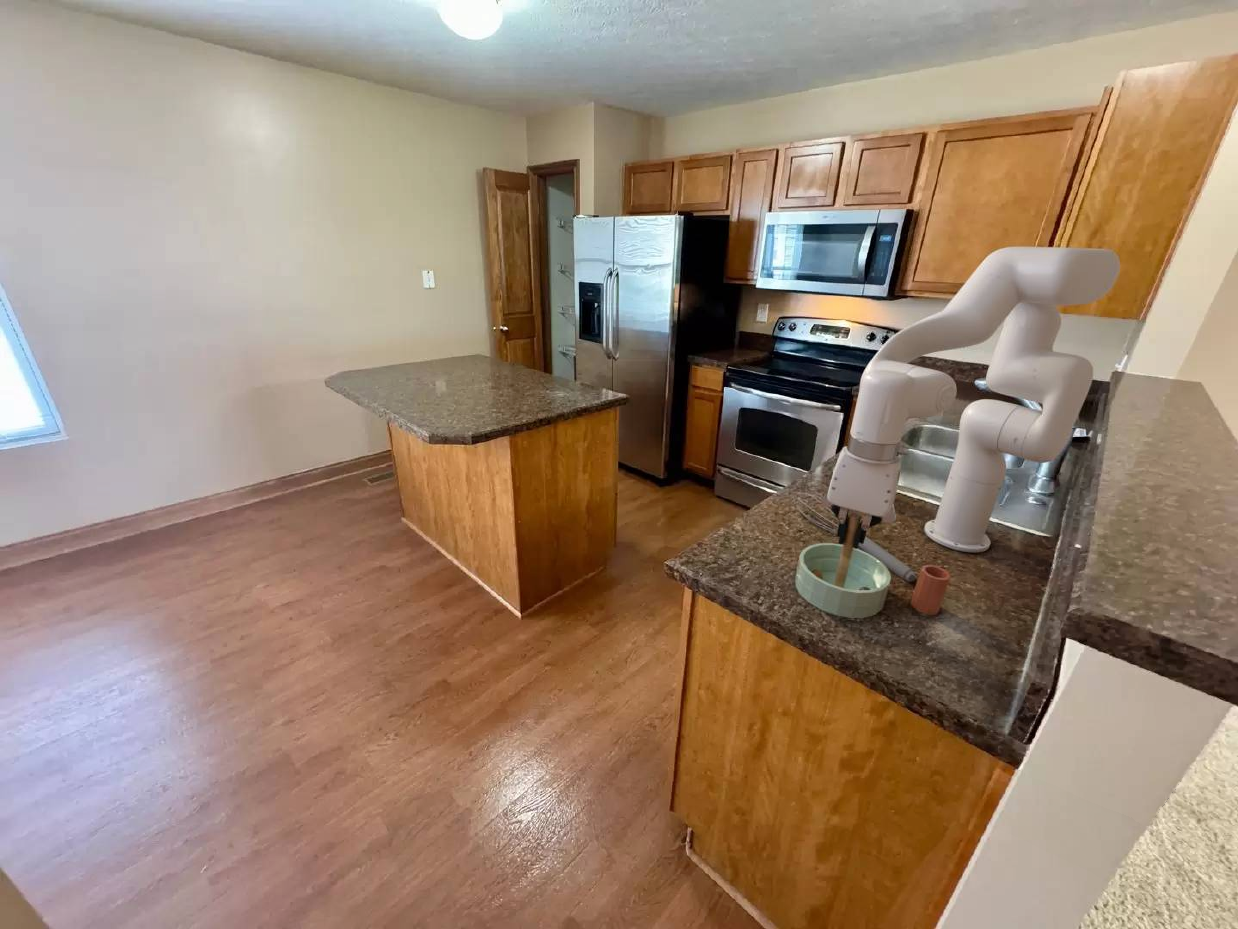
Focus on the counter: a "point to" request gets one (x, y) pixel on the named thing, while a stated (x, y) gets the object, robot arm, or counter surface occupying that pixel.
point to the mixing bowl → (859, 575)
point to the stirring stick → (847, 550)
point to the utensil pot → (930, 589)
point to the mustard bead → (817, 573)
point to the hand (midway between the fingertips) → (849, 542)
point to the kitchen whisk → (874, 551)
